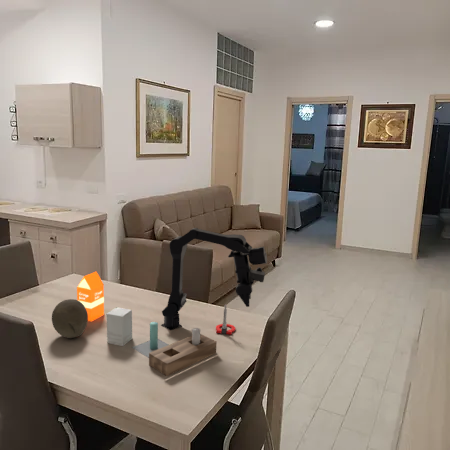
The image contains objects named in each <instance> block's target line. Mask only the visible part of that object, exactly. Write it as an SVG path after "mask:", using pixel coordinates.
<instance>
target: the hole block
mask: <svg viewBox="0 0 450 450" xmlns="http://www.w3.org/2000/svg"><path fill="white" fill-rule="evenodd" d="M215 354H217V341H216V340H214V339H212V338H210V337H207V336H205V335H204V334H202V333H200V344H199V345H197V346H195V345H193V344H192V335H190V336H187V337H185V338H182V339H180V340H178V341H175V342H173V343H171V344H169V345H168V346H165V347H163V348H160V349H158V350H155V351H153V352H150V353H149V358H148V365H149V366H150V367H152V368H153V369H154V370H156V371H158V372H159V373H161V374H163V375H164V376H166V377H168V376H170V375H173V374H175V373H177V372H178V371H181V370H183V369H185V368H187V367H189V366H192V365H194V364H196V363H198V362H199V361H200V362H201V361H202V360H204V359H206V358H208V357H210V356H212V355H215Z"/></svg>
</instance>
